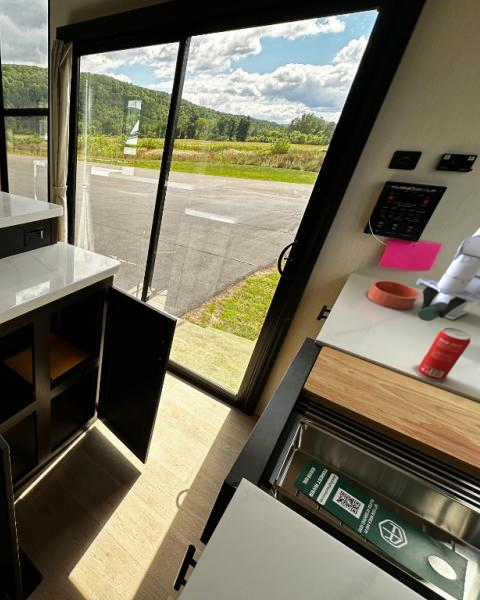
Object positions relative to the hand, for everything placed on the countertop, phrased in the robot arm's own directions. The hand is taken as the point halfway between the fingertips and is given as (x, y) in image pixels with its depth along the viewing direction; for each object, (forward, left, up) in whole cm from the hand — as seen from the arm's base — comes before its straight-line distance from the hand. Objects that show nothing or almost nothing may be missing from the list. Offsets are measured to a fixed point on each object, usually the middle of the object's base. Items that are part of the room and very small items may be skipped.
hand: (432, 312), depth 102 cm
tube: (0, 0, -1) cm, 1 cm away
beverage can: (+20, +11, -9) cm, 24 cm away
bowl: (-14, -16, -8) cm, 23 cm away
